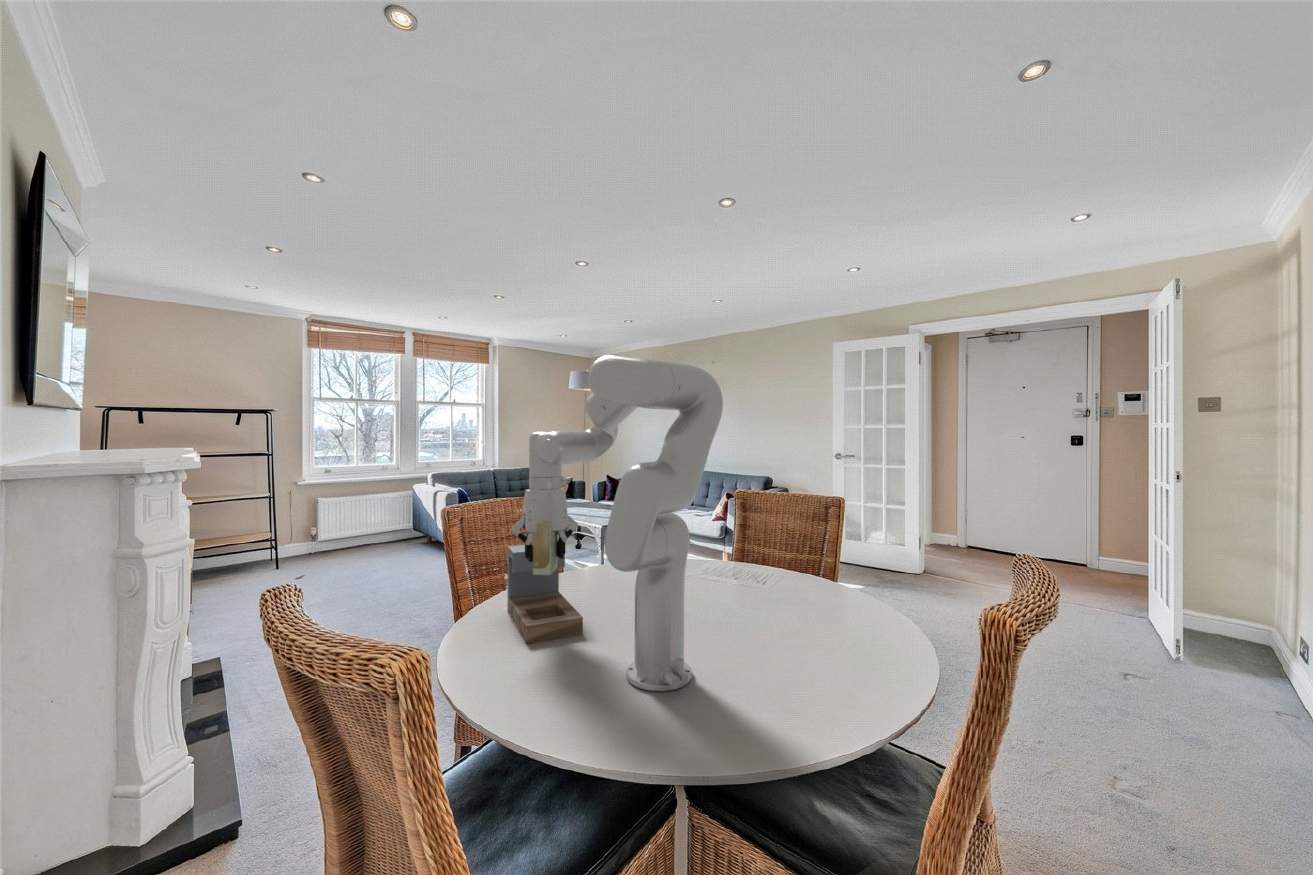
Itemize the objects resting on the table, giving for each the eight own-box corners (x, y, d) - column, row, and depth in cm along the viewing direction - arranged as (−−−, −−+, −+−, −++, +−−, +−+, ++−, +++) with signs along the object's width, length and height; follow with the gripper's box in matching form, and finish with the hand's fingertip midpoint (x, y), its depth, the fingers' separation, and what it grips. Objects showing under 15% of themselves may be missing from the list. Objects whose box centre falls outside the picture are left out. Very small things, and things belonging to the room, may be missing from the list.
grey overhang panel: (564, 613, 136) (564, 547, 135) (513, 621, 130) (513, 552, 130) (556, 604, 143) (556, 541, 143) (507, 611, 137) (507, 546, 137)
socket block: (582, 634, 122) (582, 617, 122) (526, 644, 116) (526, 626, 116) (558, 606, 141) (558, 591, 141) (508, 613, 135) (508, 598, 135)
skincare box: (540, 567, 129) (540, 517, 128) (557, 568, 128) (558, 518, 128) (531, 575, 122) (531, 522, 122) (550, 575, 122) (550, 523, 122)
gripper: (576, 480, 132) (575, 552, 132) (505, 483, 124) (505, 559, 125) (585, 483, 125) (585, 558, 125) (511, 487, 118) (510, 566, 118)
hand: (545, 558), depth 125 cm, fingers closed on skincare box, 6 cm apart
